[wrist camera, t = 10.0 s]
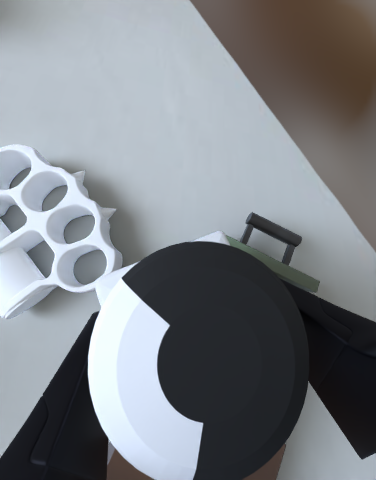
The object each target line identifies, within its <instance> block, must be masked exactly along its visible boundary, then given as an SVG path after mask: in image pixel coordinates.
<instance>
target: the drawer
mask: <svg viewBox="0 0 376 480" xmlns="http://www.w3.org/2000/svg"><path fill="white" fill-rule="evenodd" d="M246 224H248V225H247V227H246V229H245V231H244V234H243V236H242V238H241V241H240V242H239V241H237V240H235V239H233V238H231V237H229V236H227V235H226V237H227V240H228V242H229V244H230V246H233V247H236V248H239V249H241V250H243V251H245V252H247V253H249V254H251V255H252V256H254V257H255V258H257V259H258V260H260V261H261V262H263V263H264V264H265V265H266V266H267V267H269V268H270V269H271V270H272V271H273V272H274V273H275V274H276V275H277V276H278V277H279V278H281V279H283V280H285V281H287V282H289V283H291V284H293V285H295V286H297V287H299V288H301V289H303V290H305V291H307V292H317V290H318V286H319V283H320V281H318V280H316V279H314V278H312V277H310V276H308V275H306V274H304V273H302V272H300V271H298V270H296V269H294V268H292V267H290V266H289V263H290V260H291V257H292V255H293V252H294V249H295V247H297V246H298V245H299V244H300V243H301V240H302V237H301V236H299V235H297V234H295V233H293V232H291V231H289V230H287V229H285V228H283V227H281V226H279V225H277V224H275V223H273V222H271V221H269V220H267V219H265V218H263V217H261V216H259V215H257V214H255V213H253V212H252V213H250V214H249V216H248V218H247V220H246ZM253 227H254V228H256V229H258V230H260V231H262V232H264V233H266V234H268V235H270V236H272V237H274V238H276V239H278V240H280V241H282V242H284V243H286V244H288V245H287V248H286V251H285V253H284V256H283V259H282V262H279V261H277V260H275V259H273V258H271V257H269V256H267V255H265V254H263V253H261V252H259V251H257V250H255V249H253V248H251V247H249V246H247V245H246V244H247V242H248V239H249V237H250V235H251V232H252V230H253Z"/></svg>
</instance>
